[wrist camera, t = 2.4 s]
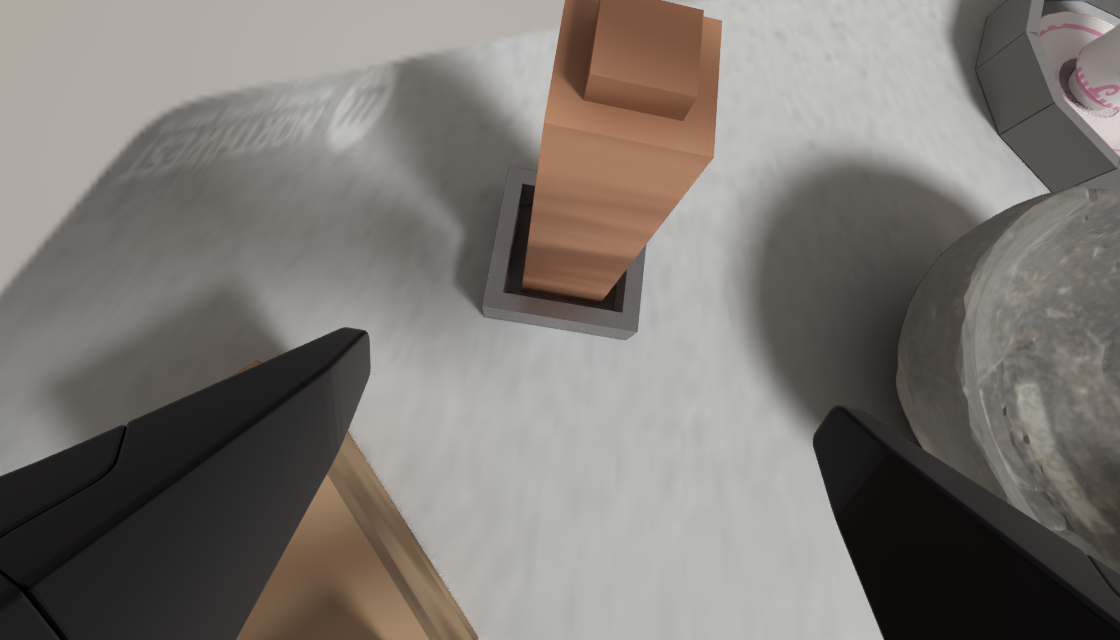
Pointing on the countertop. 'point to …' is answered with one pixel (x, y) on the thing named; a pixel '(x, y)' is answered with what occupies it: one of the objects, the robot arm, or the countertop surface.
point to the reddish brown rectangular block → (618, 138)
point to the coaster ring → (1040, 102)
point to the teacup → (1087, 66)
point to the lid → (336, 580)
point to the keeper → (546, 311)
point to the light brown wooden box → (401, 544)
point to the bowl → (1027, 363)
